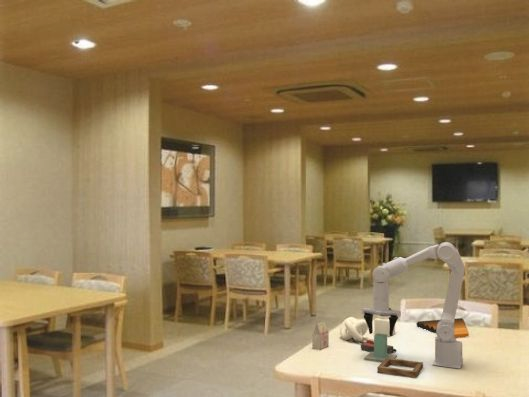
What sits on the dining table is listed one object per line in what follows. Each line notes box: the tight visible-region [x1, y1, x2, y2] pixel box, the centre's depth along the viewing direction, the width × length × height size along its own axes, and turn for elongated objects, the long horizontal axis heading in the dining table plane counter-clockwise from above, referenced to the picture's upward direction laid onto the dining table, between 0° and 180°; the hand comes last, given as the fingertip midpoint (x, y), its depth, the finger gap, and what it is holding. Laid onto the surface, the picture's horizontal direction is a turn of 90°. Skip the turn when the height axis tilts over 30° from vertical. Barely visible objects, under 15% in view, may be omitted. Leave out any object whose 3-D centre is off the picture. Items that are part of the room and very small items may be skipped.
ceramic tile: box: [363, 352, 398, 363], centre depth 209 cm, size 10×10×1 cm
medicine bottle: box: [373, 307, 396, 338], centre depth 248 cm, size 7×7×12 cm
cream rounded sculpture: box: [339, 316, 369, 341], centre depth 238 cm, size 11×12×9 cm
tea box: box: [311, 321, 330, 351], centre depth 224 cm, size 4×7×10 cm, turn 145°
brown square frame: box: [377, 358, 424, 379], centre depth 194 cm, size 13×13×2 cm
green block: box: [373, 333, 388, 358], centre depth 209 cm, size 4×4×8 cm
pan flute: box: [415, 317, 470, 339], centre depth 257 cm, size 25×3×25 cm
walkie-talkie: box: [355, 338, 397, 354], centre depth 222 cm, size 9×4×20 cm
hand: (380, 334), depth 209 cm, fingers open, 7 cm apart
